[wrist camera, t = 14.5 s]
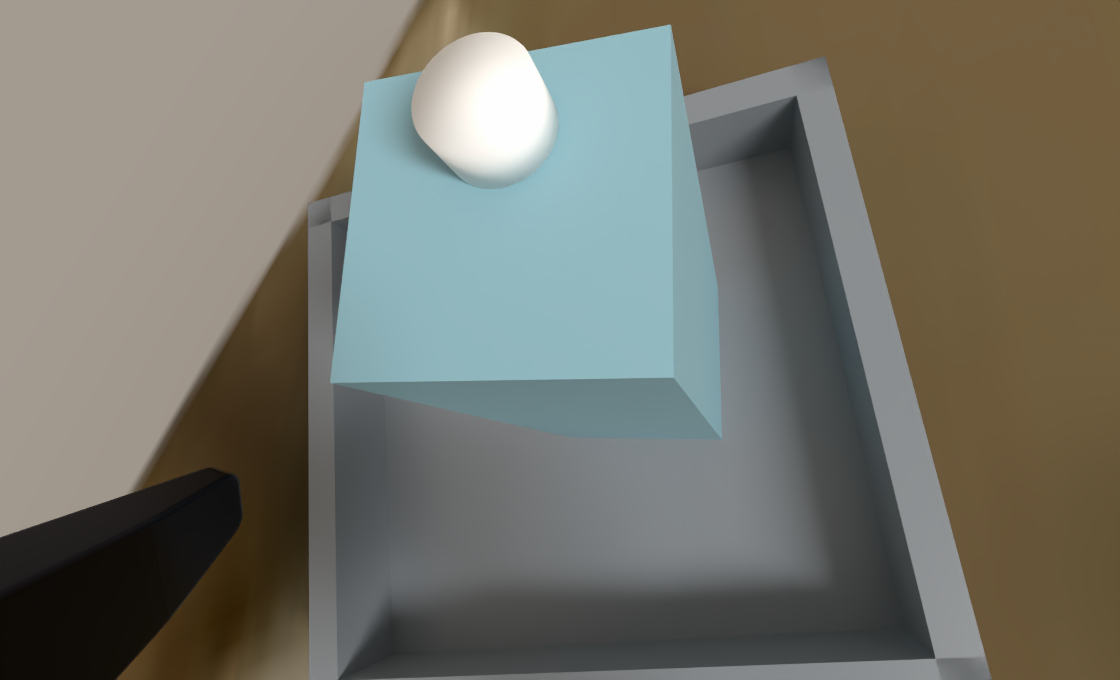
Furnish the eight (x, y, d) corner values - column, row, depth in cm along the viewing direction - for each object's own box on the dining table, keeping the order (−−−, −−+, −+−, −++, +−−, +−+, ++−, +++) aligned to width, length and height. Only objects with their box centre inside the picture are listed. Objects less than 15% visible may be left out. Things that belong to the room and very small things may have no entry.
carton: (721, 439, 19) (662, 362, 6) (569, 437, 20) (280, 371, 8) (718, 287, 20) (660, -32, 8) (573, 296, 22) (324, 41, 9)
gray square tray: (944, 656, 17) (999, 706, 13) (385, 677, 22) (309, 718, 18) (812, 130, 21) (825, 56, 18) (371, 242, 26) (307, 203, 22)
